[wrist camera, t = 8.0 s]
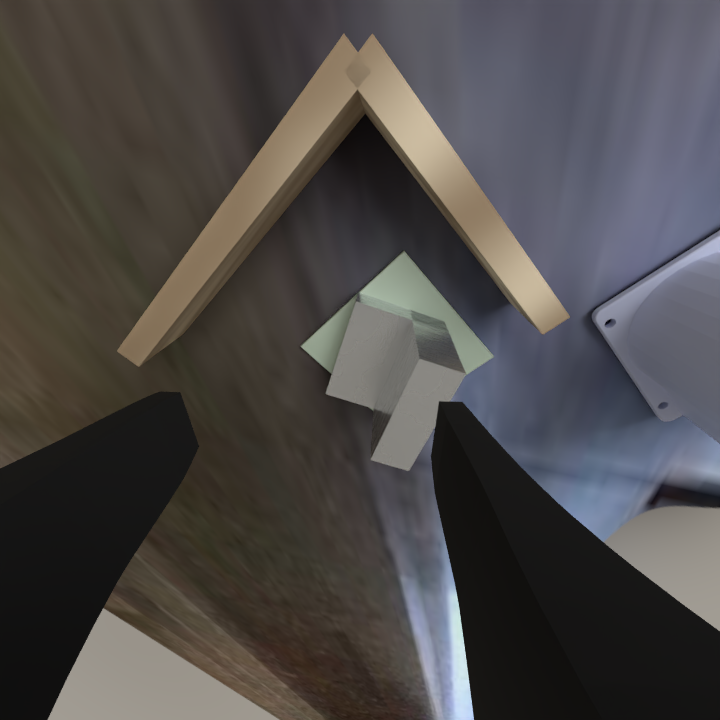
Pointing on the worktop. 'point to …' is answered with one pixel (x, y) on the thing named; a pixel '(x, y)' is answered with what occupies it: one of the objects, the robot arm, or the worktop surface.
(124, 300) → the worktop surface
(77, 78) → the worktop surface
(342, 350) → the bracket
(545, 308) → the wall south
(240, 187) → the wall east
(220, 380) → the worktop surface
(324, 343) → the pad
